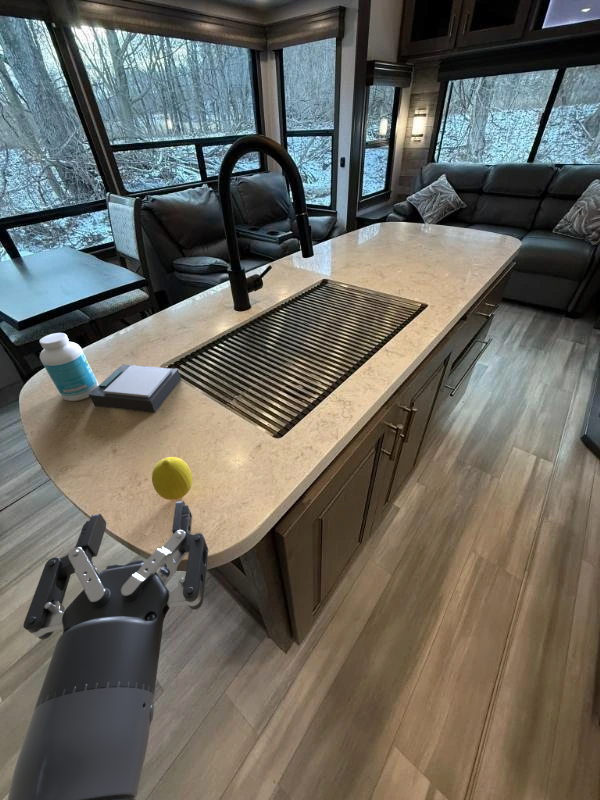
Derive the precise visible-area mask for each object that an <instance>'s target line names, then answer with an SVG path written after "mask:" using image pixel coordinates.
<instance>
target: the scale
mask: <svg viewBox="0 0 600 800" xmlns="http://www.w3.org/2000/svg"><path fill="white" fill-rule="evenodd" d="M181 381H182V379H181V375H180V372H179V368H170V367H161V366H160V367H159V366H158V367H157V366H148V365H137V364H126V363H125V364H123V363H122V364H121V365H119V367H117V369H115V370H114V371H113V372H112V373H111V374H110V375H108V377H106V378H105V379H104V380H103V381H102V382H101V383H99V384H98V385H99V386H98V387H97V388H96V389H94V390H93V391H92V392H91V393H90V394H89V397H88V398H89V399H90V400H91V403H92V404H93V406H94V407H100V408H108V409H109V408H110V409H116V410H117V409H118V410H125V411H127V410H128V411H135V412H145V413H156V412H157V411H158V410H159V408H160V407H161V406H162V405H163V403H165V401H166V400H167V398H168V397H169V396H170V395H171V393H172V392H173V391H174V389H175V388H176V387H177V386H178V385H179V383H180V382H181Z"/></svg>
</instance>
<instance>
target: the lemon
mask: <svg viewBox="0 0 600 800" xmlns="http://www.w3.org/2000/svg"><path fill="white" fill-rule="evenodd" d="M151 482H152V486H153V488H154V491H155V492H156V493H157V495H159V496H160V497H161V498H162V499H165V500H167V501H168V500H169V501H177V500H179V499H181V498H183V497H185V496H186V495H187V494H188V493H189V491H191V488H192V485H193V475H192V471H191V468H190V466H189V465H188V464H187V463H186V462H185V461H184V460H183V459H182V458H179V457H177V456H168V457H164V458H162V459H160V460H159V461H158V462H157V463H156V464H155V466H153V469H152V473H151Z"/></svg>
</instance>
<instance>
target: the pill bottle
mask: <svg viewBox="0 0 600 800" xmlns="http://www.w3.org/2000/svg"><path fill="white" fill-rule="evenodd" d="M69 340H70V339H69V338H68V335H67V334H66V333H64V332H55V333H50V334H47V335H45V336H43V337H41V338H40V339H39V344H40V345H41V348H43V349H42V350H41V352H40V353H39V360H40V362H41V364H42V365H43V367H44V369H45V371H46V372H47V374H48V375H49V377H50V379H51V380H52V383H53V384H54V386H55V388H56V389H57V391H58V393H59V395H60V396H61V398H62V399H64V400H66V401H69V402H76V401H82V400H85V399H87V398H90V397H89V394H90V393H91V392H92V391H93V390H94V389H96V388H97V387H98V386H99V385H100V384H99V382H98V380H97V378H96V376H95V374H94V372H93V369H92V367H91V365H90V364H89V361H88V359H87V357H86V355H85V353H84V351H83V349H82V347H81V346H80V344H78V343H76V342H73V341H69Z"/></svg>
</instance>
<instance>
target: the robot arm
mask: <svg viewBox="0 0 600 800" xmlns="http://www.w3.org/2000/svg"><path fill="white" fill-rule="evenodd" d="M192 523H193V514H192V512H191V510H190V507H189V505H188V504H185V502H184V500H179V501H176V502H175V507H174V513H173V520H172V527H171V532H172V535H171V536H170V538H168V539H167V541H166V542H165V543H164V545H162V547H158V548H156V549H155V551H154V552H153V553H152V554H151V555H150V556H149V557H148V558H147V559H146V561H144V560H143V559H137V560H133V561H131V562H128V563H125V564H110V565H107V566H106V568H105V569H102V570H101V571H99V569H98V568H97V566H96V565H95V563H94V561H93V558H97V557H98V554H99V551H100V548H101V545H102V541H103V538H104V535H105V532H106V528H107V521H106V520H105V518H104V516H103V515H102V514H101V513H94V514H92V515H91V516H90V518H89V519H88V520H86V521H85V522H84V524H83V526H82V527H81V531H80V533H79V536H78V539H77V541H76V544H75V546H74V548H73V549H71V551H69V553H68V554H66V555H64V556H63V557H60V558H59V557H58V556H54V557H51V558H50V559H48V560H47V561H46V562H45V564H44V567H43V570H42V572H41V575H40V578H39V580H38V583H37V585H36V588H35V591H34V594H33V597H32V600H31V602H30V605H29V607H28V610H27V613H26V615H25V618H24V622H23V628H24V629H25V630H26V631H27V632H28V633H29V634H31V635H33V636H34V637H36V638H38V639H39V640H42V641H43V640H46V639H49V638H50V637H51V636H52V635H53V633H54V632H56V631H60V630H62V634H61V635H60V637H59V638H58V640H57V642H56V644H55V647H54V649H53V653H52V656H51V659H50V662H49V665H48V668H47V671H46V674H45V677H44V681H42V682H43V683H42V684H41V685H42V686H41V689H40V692H39V694H38V698H37V699H36V704H35V705H34V709H33V713H32V715H31V718H30V721H29V724H28V727H27V730H26V733H25V736H24V738H23V739H24V740H23V742H22V745H21V748H20V751H19V754H18V758H17V760H16V763H15V766H14V770H13V774H12V778H11V783H10V787H9V792H8V795H7V800H136V798H137V797H138V791H139V786H140V781H141V776H142V771H143V767H144V763H145V759H146V755H147V750H148V744H149V739H150V738H149V737H150V730H151V726H152V722H153V719H154V712H155V705H154V701H155V693H156V692H155V691H156V683H157V674H158V669H159V660H160V652H161V645H162V637H163V628H164V621H165V618H166V615H167V614H168V612H169V610H170V609H171V608H175V607H176V608H177V607H183V606H184V607H185V606H188V607H189V608H190V609H191V610H193V611H194V610H195V611H196V610H199V609H200V608H201V607H202V606H203V603H204V595H205V586H206V576H207V567H208V558H209V555H208V554H209V548H208V544H207V542H206V539H205V537H204V534H203V533H201V532H196V533H194V534H192ZM187 554H188V557H187V562H186V570H185V576H181V578H180V579H179V580H178V582H177V585H176V587H175V588H174V589H173V590H171V591H169V589H168V587H167V586H166V585H167V584H168V583H169V581H170V580H171V579H172V578H173V576H174V575H175V574H176V573H177V570H178V567H179V564H180V563H181V562H182V561H183V559H184V558H185V557H186V556H187ZM158 570H159V571H158ZM73 574H75V575H76V577H77V578H78V580H79V581H78V582H79V583H80V584H81V587H82V588H83V589H82V591H81V592H80V593H79V594H78V595H77V596H76V597H75V598H74V599H73V600H72V601H71V602H70V604H69V605H68V606H67V607H66V608H65V606H64V605H63V602H64V599H65V595H66V592H67V589H68V586H69V582H70V579H71V575H73Z"/></svg>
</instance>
